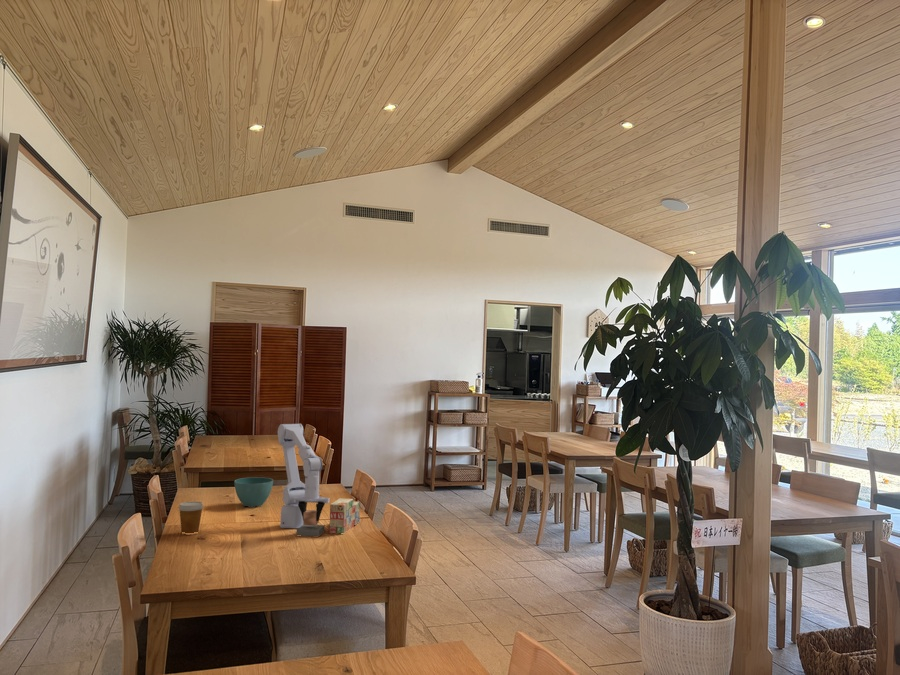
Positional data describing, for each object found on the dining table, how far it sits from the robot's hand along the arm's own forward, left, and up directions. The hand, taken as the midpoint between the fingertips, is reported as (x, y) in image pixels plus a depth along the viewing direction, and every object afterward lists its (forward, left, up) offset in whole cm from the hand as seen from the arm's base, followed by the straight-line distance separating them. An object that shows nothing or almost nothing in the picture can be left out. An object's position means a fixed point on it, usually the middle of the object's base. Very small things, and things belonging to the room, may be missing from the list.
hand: (311, 520), depth 275 cm
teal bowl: (-43, +49, -6) cm, 65 cm away
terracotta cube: (0, 0, -1) cm, 1 cm away
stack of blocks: (+12, +12, -6) cm, 17 cm away
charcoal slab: (0, 0, -6) cm, 6 cm away
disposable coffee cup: (-48, -7, -6) cm, 49 cm away
